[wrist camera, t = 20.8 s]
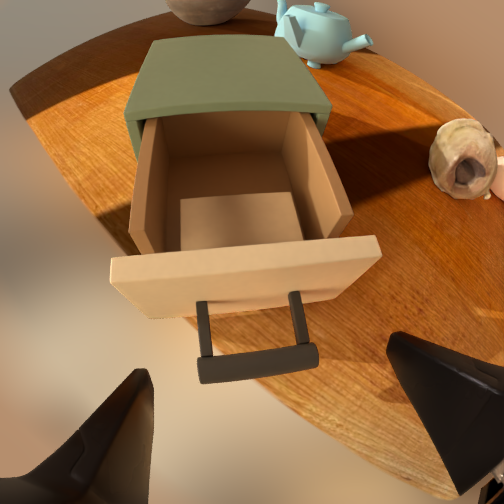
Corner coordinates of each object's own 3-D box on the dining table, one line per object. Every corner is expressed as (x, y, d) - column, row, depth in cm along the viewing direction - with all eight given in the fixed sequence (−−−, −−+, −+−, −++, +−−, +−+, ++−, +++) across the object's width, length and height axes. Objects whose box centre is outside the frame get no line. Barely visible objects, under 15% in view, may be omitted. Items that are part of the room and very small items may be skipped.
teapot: (265, 65, 34) (275, 1, 24) (265, 39, 41) (272, -10, 30) (360, 84, 35) (381, 27, 25) (342, 54, 42) (356, 8, 31)
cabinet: (304, 184, 24) (333, 105, 16) (147, 195, 22) (122, 113, 14) (273, 97, 30) (283, 36, 22) (160, 102, 28) (153, 40, 20)
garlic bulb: (414, 171, 30) (427, 101, 23) (458, 174, 30) (474, 112, 23) (449, 216, 24) (476, 133, 17) (494, 216, 23) (520, 146, 16)
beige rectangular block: (283, 213, 20) (290, 191, 17) (295, 264, 18) (305, 246, 16) (184, 220, 19) (179, 198, 16) (186, 275, 17) (180, 257, 15)
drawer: (347, 359, 16) (407, 343, 10) (153, 386, 15) (111, 386, 9) (293, 155, 24) (310, 94, 18) (154, 163, 22) (140, 100, 16)
